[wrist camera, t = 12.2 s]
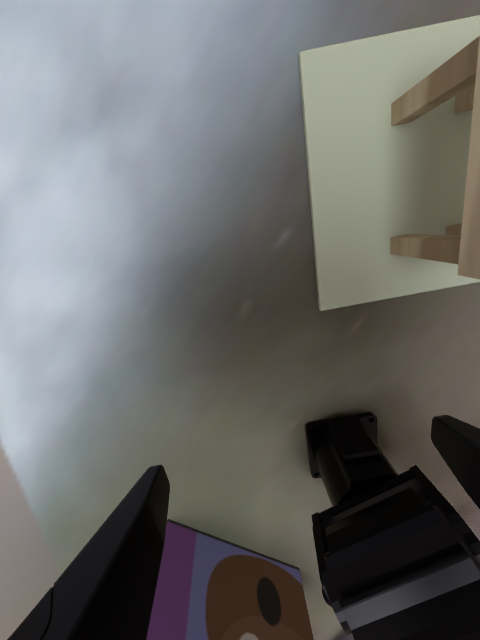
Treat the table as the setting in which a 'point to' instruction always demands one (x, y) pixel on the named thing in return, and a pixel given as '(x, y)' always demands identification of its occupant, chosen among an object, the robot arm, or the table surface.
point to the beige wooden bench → (471, 94)
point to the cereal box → (224, 592)
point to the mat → (382, 162)
